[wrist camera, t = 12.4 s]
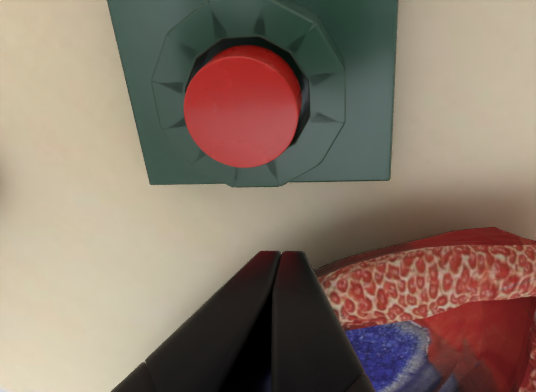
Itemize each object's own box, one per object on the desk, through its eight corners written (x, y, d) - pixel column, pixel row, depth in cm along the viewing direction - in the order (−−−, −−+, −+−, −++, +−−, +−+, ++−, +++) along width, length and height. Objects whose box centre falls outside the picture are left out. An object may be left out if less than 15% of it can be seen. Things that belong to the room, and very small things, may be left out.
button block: (396, -49, 15) (408, -47, 13) (387, 168, 19) (395, 204, 16) (115, -23, 17) (75, -16, 14) (159, 173, 21) (133, 206, 18)
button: (298, 40, 15) (294, 52, 13) (304, 146, 16) (300, 167, 15) (189, 48, 15) (173, 60, 14) (206, 149, 17) (193, 169, 15)
